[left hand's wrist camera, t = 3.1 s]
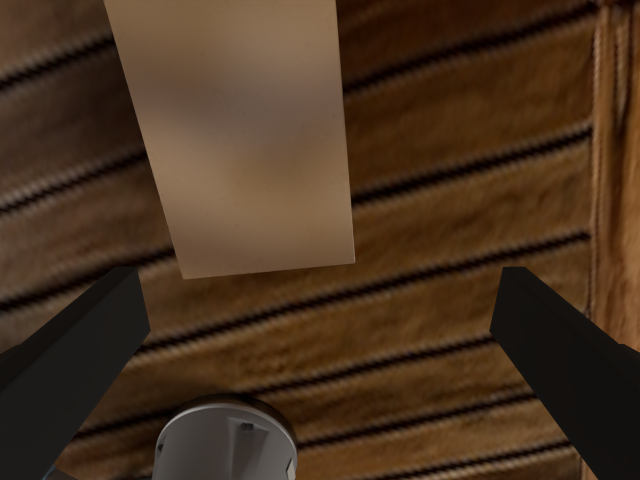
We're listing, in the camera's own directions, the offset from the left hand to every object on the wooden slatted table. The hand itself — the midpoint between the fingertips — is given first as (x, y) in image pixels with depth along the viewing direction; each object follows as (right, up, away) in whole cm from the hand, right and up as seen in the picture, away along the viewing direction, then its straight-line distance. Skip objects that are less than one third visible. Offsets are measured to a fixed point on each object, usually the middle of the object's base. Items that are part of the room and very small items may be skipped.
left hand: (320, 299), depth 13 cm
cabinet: (-4, +13, +13) cm, 19 cm away
